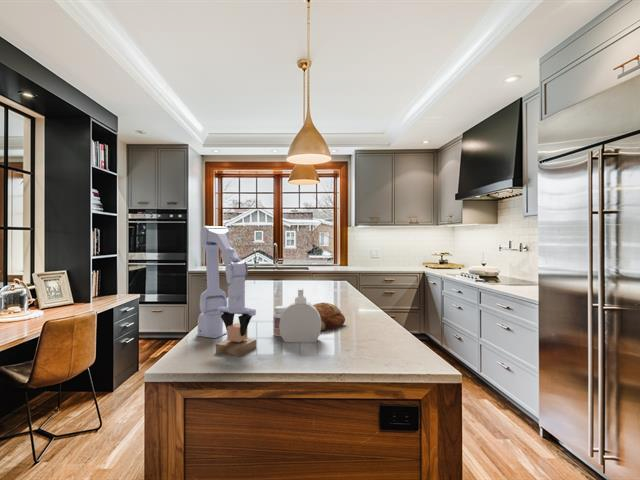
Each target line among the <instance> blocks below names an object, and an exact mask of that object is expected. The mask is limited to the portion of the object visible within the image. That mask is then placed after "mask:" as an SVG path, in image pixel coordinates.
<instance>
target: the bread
mask: <svg viewBox="0 0 640 480" xmlns="http://www.w3.org/2000/svg"><path fill="white" fill-rule="evenodd" d="M312 305H313V306H314V307H316V309H317V311H318V312H319V314H320V318H321V331H330V330H335V329H337V328H338V329H339V328H340V327H341V326H343V325H344V324H345V322H346V317H345V315H344V314H343V313H342V312H341V309H340V308H339V307H338V306H337V305H334V304H332V303H328V302H320V303H314V304H312Z"/></svg>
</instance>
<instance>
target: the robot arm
mask: <svg viewBox="0 0 640 480" xmlns="http://www.w3.org/2000/svg"><path fill="white" fill-rule="evenodd" d="M229 238H230V230H229V228H228V227H227V226H213V225H211V226H209V225H204V226H202V228H201V230H200V244H201V247H202V248H204V250H205V264H206V265H205V270H206V289H205V290H204V291H202V293H201V294H200V297H199V298H200V299H199V311H200V314H199V315H198V318H197V333H196V336H197V337H203V338H204V337H205V338H213V339H216V338H219V337H222V336H224V335H227V326H229V325H232V324H234V320H235V319H234V318H235V315H239V316H237V317H238V321H239V324H240V333H241V336H244V335H246V330H247V331H248V328H249V327H248V326H249V323H250V321H251V320H252V318H253V316H256V314H257V310H256V309H254V308H249V307H246V303H245V302H246V298H245V297H246V295H245V293H246V282H245V281H246V280H245V279H246V277H247V276H248V272H249V268H248V264H247V262H246V260H243V259H241V258H240V256H239V254H238V252H237V251H236V249H235V248H233V247H231V244H230V242H229ZM219 250H220V251H221V253H220V258H221V259H222V262H223V264H224V266H225V271H224V272H225V276H226V284H227V294H226V292H225V291H224V290H223V289H221V287H220V271H219V269H220V268H219V267H220V266H219V265H220V264H219ZM224 326H225V329H226V331H223V329H224V328H223V327H224Z"/></svg>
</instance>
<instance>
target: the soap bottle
mask: <svg viewBox="0 0 640 480" xmlns="http://www.w3.org/2000/svg"><path fill="white" fill-rule="evenodd" d="M313 305H314V304H311V303H310V302H307V298H306V297H305V296H304V288H297V296H296V297H295V298H294V301H293V302H291V303H290V304H288V306H287V307H286V309H285V310H284V312H283V314H282V315H281V318H280V323H279V329H280V334H281V336H280V337H281V338H282V340H283V341H284V343H297V342H304V343H305V342H307V344H308V343H309V344H311V343H313V344H315V343H317V340H318V339H319V337H320V335H321V331H322V330H321V318H320V314H319V312H318V311H317V309H316V307H314V306H313Z"/></svg>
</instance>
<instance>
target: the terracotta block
mask: <svg viewBox="0 0 640 480" xmlns="http://www.w3.org/2000/svg"><path fill="white" fill-rule="evenodd" d="M226 332H227V334H226V335H227V336H226V339H227V341H235V342H241V341H243V340H245V339H247V338H248V329H247V330H246V335H244V336H241V333H240V322H239V323H238V322H236V323H233V324H232V325H229V326H227V330H226Z"/></svg>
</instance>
